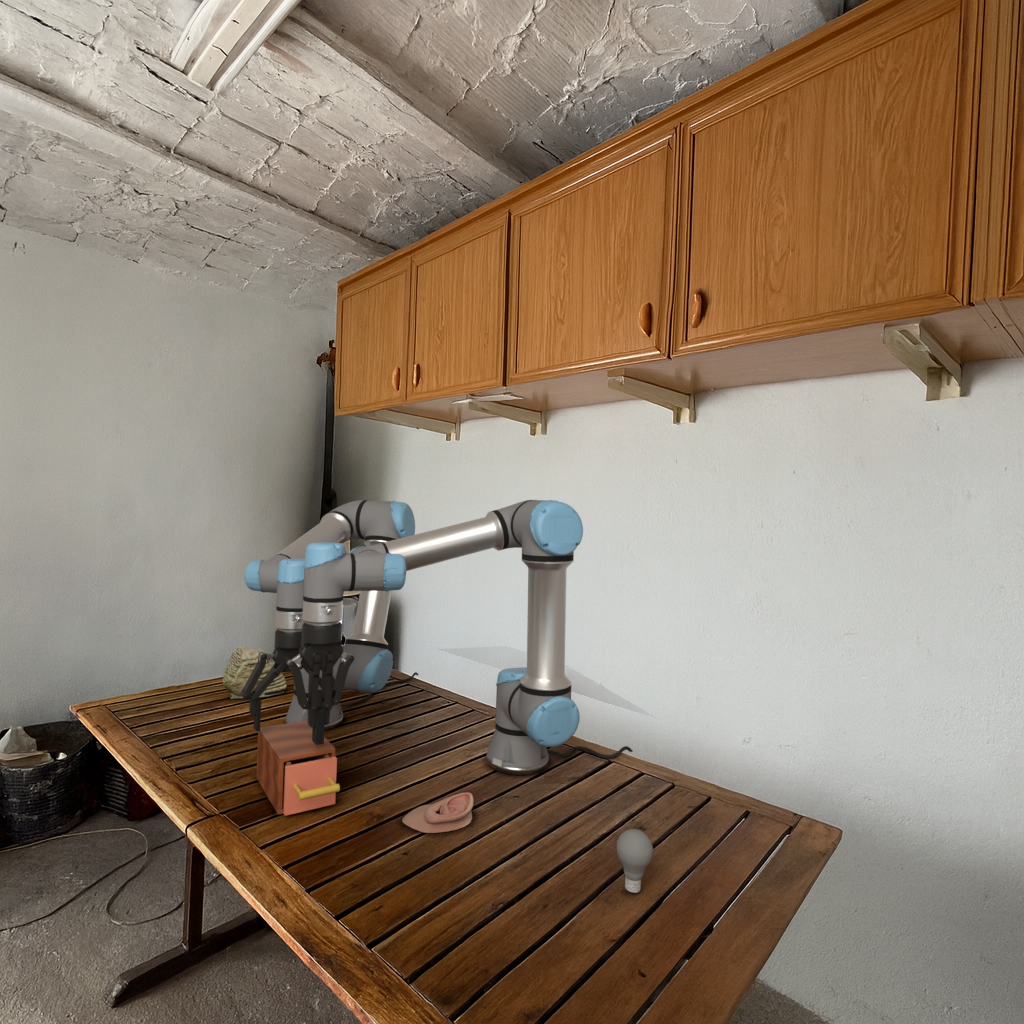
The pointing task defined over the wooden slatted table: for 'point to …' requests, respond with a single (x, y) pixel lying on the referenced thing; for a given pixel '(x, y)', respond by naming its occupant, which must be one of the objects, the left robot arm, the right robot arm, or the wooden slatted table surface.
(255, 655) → the fossil
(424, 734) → the wooden slatted table surface
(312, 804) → the drawer
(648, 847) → the light bulb
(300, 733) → the cabinet
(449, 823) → the anatomical model
